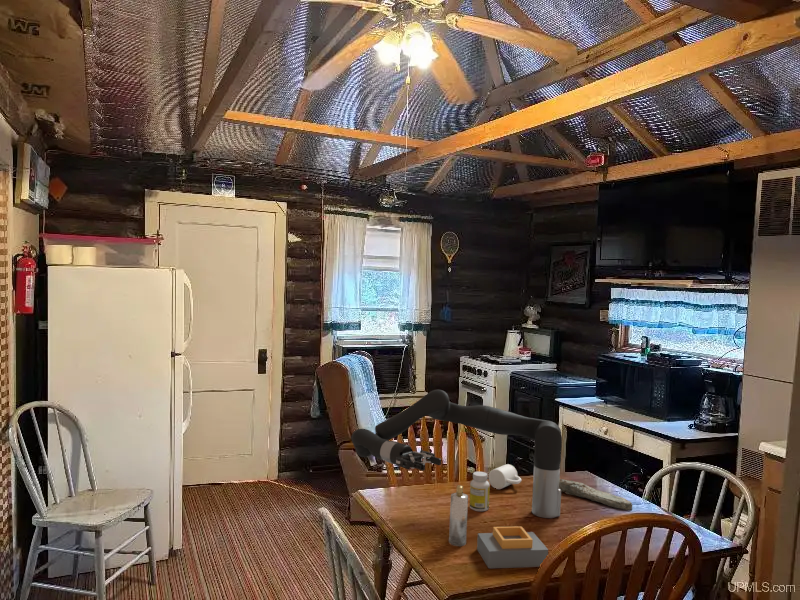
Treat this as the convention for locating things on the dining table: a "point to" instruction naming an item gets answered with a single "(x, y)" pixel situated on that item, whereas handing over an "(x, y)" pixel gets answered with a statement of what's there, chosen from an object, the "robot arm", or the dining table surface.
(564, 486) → the elongated rock
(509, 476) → the mug
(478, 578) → the dining table surface
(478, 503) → the supplement bottle
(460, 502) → the gold capped bottle
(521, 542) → the grey base with frame
